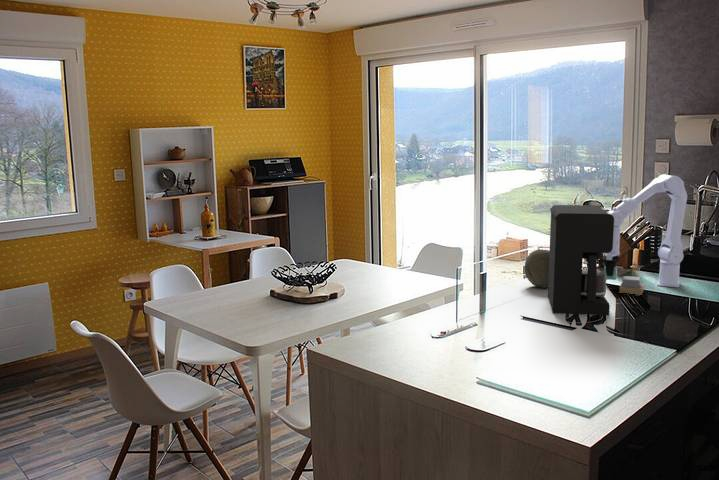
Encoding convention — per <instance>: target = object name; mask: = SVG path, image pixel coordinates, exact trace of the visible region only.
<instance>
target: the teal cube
mask: <svg viewBox="0 0 719 480" xmlns="http://www.w3.org/2000/svg"><path fill="white" fill-rule="evenodd" d="M603 272H605V273H606V269H605V266H604V268H603ZM606 278H607V279H606V280H610V281H612V280H613V281H616V280H617V278H618V266H616V267H615V268H614V272H613V276H607V275H606Z"/></svg>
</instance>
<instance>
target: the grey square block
mask: <svg viewBox="0 0 719 480" xmlns="http://www.w3.org/2000/svg"><path fill="white" fill-rule="evenodd" d="M621 284H622V287H631V288H639V287H640V284H641V277H640V276H628V275H626V276H625V275H624V276H623V277H622V282H621Z"/></svg>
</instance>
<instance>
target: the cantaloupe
mask: <svg viewBox="0 0 719 480" xmlns="http://www.w3.org/2000/svg"><path fill="white" fill-rule="evenodd" d="M549 253H550V249H549V250H548V249H535V250H533V251H531V252H530V253H529V255H528V256H527V257H526V259H525V263H524V274H525V277H526V279H527V281H529V283H530V284H532V285H533V286H534V287H537V288H539V289H545V288H548V279H549Z"/></svg>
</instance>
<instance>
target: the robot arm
mask: <svg viewBox="0 0 719 480" xmlns="http://www.w3.org/2000/svg"><path fill="white" fill-rule="evenodd" d="M657 193H658V194H659V193H666V195H667V196H668V197H669V198H670V199H671V203H670V206H669V207H670V209H669V214H668V220H667V227H666V233H665V238H664V239H663V240H662V241H661V244H660V247H659V248H658V251H657V255H658V257H659V260H660V261H659V273H658V274H659V276H658V280H657V284H656V285H657V286H660V287H668V288H670V287H671V288H680V284H681V282H680V281H679V280H680V268H681V266H680V265H681V263H682V261H683V259H684V257H685V256H684V252H683V247H684V246H683V244H682V243H683V242H681V238H682V237H681V236H682V230H683V224H684V219H685V213H686V208H687V202H688V193H687V190H686V187H685V182H684V180H682V179H681V177H680V176H678V175H669V174H665V173H663V174H660V175H659V176H658V177H655V178H654V179H652V180H651V182H650V183H649V184H648V185H646V186H645V187H644V188H642V190H641V191H638V193H636V195H634V196H633V197H632V198H631V197H627V198H623V199H622V200H621V202H620V203H619V204H618V205H617V206H616V207H615V206H613V207H612V210H609V211H608V212H609V213H610V214H612V215H613V217H614V233H613V249H612V251H611V252H609V253H602V255H604V257H603V258H601V259H602V262H603V264H604V263H605V264H604V267H605V269H606V275H607V276H613V272H614V268H615V267H617V263H618V261H619V259H620V257H621V256H620V254H621V253H620V242H621V225H623V223H624V221H625V220H626V219H627V218H628V217H629V216H630V215H632V214H634V213H635V212H636V211H637V210H638V208H639V205H640V204H641V203H643V202H644V201H646V200H648V199H649V198H650V197H652V196H654V195H655V194H657Z"/></svg>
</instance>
